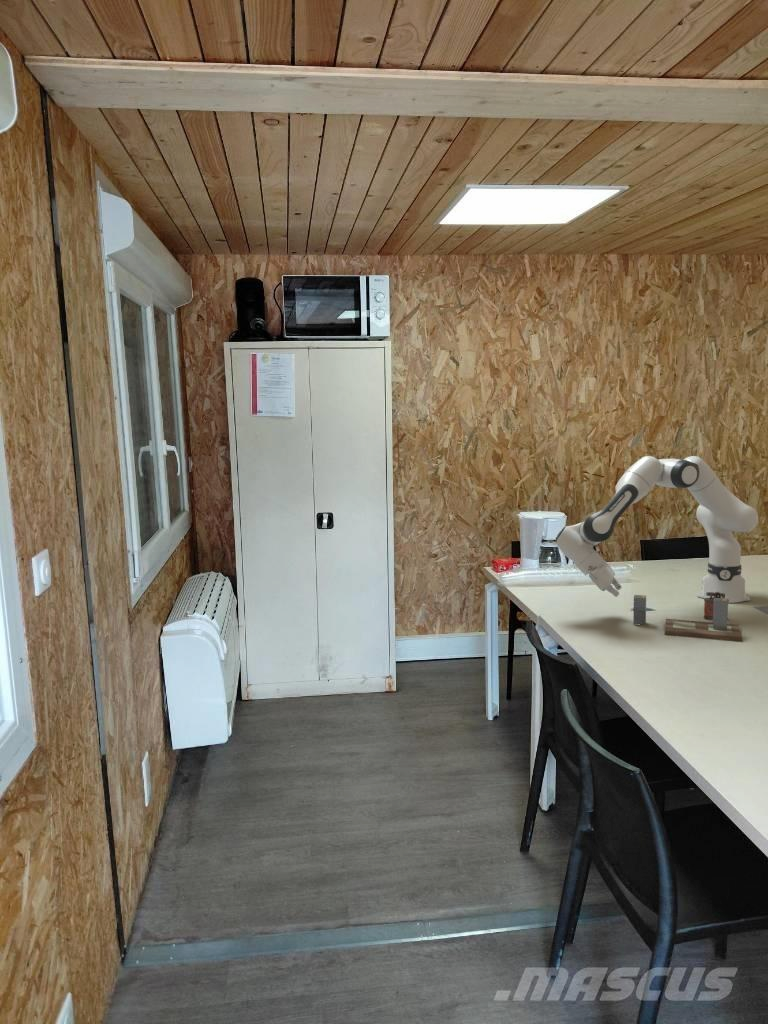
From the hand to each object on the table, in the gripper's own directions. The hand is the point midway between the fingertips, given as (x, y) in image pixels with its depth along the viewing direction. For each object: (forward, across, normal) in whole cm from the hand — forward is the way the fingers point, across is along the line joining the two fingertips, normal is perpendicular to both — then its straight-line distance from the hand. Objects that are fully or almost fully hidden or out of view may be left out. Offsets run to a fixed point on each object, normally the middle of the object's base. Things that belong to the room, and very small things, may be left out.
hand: (619, 592), depth 238 cm
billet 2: (+30, -3, -16) cm, 34 cm away
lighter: (+31, +14, -15) cm, 37 cm away
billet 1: (+13, 0, +3) cm, 13 cm away
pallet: (+27, -3, -11) cm, 29 cm away
